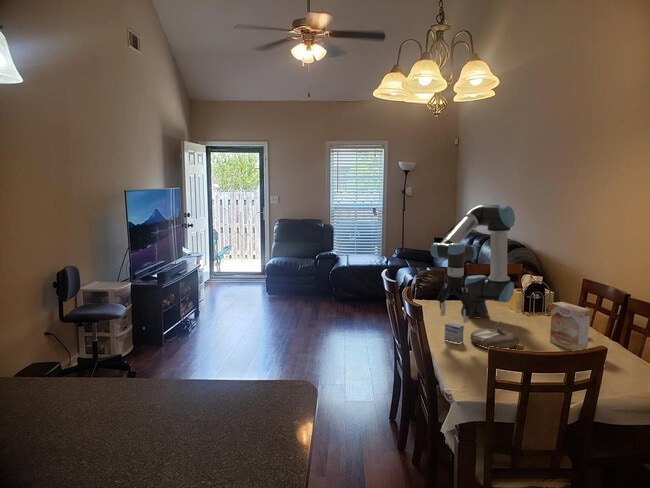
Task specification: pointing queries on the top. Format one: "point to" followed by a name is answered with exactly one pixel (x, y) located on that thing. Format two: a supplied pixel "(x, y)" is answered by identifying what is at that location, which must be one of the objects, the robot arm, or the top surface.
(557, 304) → the coffeecake box
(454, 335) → the medicine box
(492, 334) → the index dial
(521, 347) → the dial base
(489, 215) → the robot arm
